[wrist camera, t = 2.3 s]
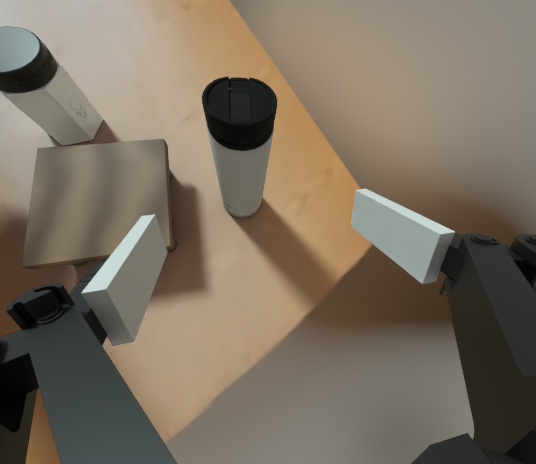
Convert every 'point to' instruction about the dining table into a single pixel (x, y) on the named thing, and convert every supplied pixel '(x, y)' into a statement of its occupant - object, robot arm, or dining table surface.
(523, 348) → the robot arm
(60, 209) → the peg shelf
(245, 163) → the travel mug
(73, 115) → the jar
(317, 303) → the dining table surface
